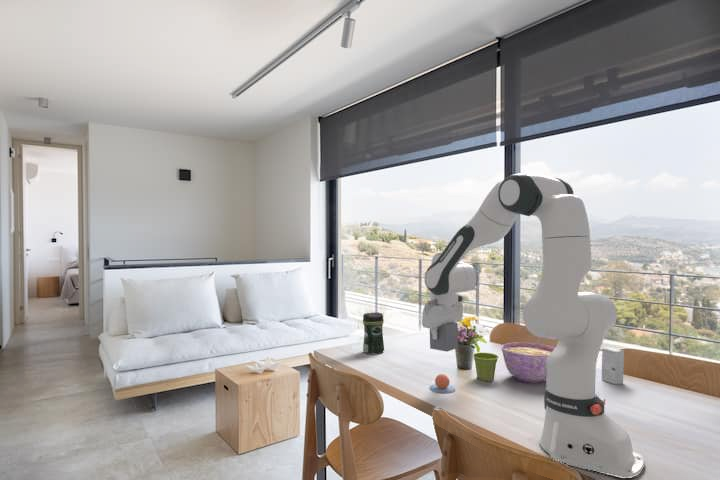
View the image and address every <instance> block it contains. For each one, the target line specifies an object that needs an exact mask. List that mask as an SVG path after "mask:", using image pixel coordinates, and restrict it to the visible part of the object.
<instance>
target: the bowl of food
mask: <svg viewBox="0 0 720 480" xmlns="http://www.w3.org/2000/svg"><path fill="white" fill-rule="evenodd" d="M555 348H556V347H552V346H550V345H545V344H540V343H534V342H519V341H518V342H509V343H505V344H502V345H501V352H502V356H503V360H504V363H505V367H506V369H507V370H508V372H509V374H510V375H512V376H513V377H515V378H517V379H518V380H519V381H522V382H524V383H531V384H534V383H540V382H542V381H544V380H546V361H547V358H548V356H549V354H550V353H551V352H552V351H553V350H554V349H555Z"/></svg>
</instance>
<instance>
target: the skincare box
mask: <svg viewBox="0 0 720 480" xmlns="http://www.w3.org/2000/svg"><path fill="white" fill-rule="evenodd" d="M601 349H602V350H601V351H602V352H601V353H602V355H601V380H602V381H604V382H606V383H609V384H613V385H621V384H624V369H625V366H624V364H625V350H622V349H619V348H615V347H611V346H607V347H603V348H601Z"/></svg>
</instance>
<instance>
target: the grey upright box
mask: <svg viewBox="0 0 720 480" xmlns="http://www.w3.org/2000/svg"><path fill="white" fill-rule="evenodd" d="M458 328H459V327H458V322H455V323H454V322H452V323H448V324H444V325H441V326H439V327H437V330H436V331H437V334H439V339H437V340H434V339H433V338H432V333H431V330H430V329H429V349H431V350H435V351H440V352H450V351H453V350H456V349H458V348H459V329H458Z"/></svg>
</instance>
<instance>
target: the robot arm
mask: <svg viewBox="0 0 720 480" xmlns="http://www.w3.org/2000/svg"><path fill="white" fill-rule="evenodd" d="M520 215H522V216H526V217H530V216H533V217H534V216H535V217H537V218H538V220H539V221H540V224H541V225H540V226H541V243H542V245H541V246H542V269H541V271H542V272H541V275H540V276H541V277H540V280H539V283H538V286H537V288H536V290H535V292H534V294H532V296H531V297H530V299H528V300H527V301H526V303H525V304H524V306H523V309H522V321H523V323H524V326H525V328H526V330H527V331H528V332H529V333H530V334H531V335H533V336H535V337H536V338H537V337H538V338H543V339H549V340H558V342H557V344H556V346H555V347H554V348H555V349H554V350H553V351H552V352H551V353H550V354H549V356H548V358H547V361H546V379H545V380H546V383H545V385H546V387H545V388H544V394H543V395H544V396H543V403H544V404H543V405H544V410H545V415H544V422H543V423H544V424H543V427H542V428H543V429H542V431H541V432H542V434H541V435H540V439H539V445H540V447H541V448H542V450H544V451H545V452H546V453H548V455H549V457H550V459H552V458H553V459H556V460H559V461H561V462H563V463H566V464H565V465H566V466H567V465H568V466H572V467H576V468H578V469H583V470H586V469H588V470H587V471H590V470H595V471H599V472H604V473H609V474H613V475H618V476H622V477H629V476H633V475H636V474H638V473H639V472H641V470H642V469H643V467H644V468H645V459H644V458H643V456H642V455H641V454H640V453H638V452H635V451H634V450H633V443H632V440H631V437H630V435H629V433H628V432H627V431H626V430H625V428H623V427H621V425H619V424H618V423H617V422H616V421H614V419H612V418H611V417H610V416H609V415H608V414H607V413H606V412H605V405H606V398H603V399H601V398H600V397H599V396H598V395H597V394H596V376H597V375H596V370H597V369H596V368H597V361H598V357H599V353H600V350H601V349H602V348H601V347H602V345H603V342H604V340H605V337H606V335H607V334H608V332H609V331H610V330H611V329H612V328H613V327H614V326H615V324H616V322H617V319H618V311H617V307H616V305H615V304H614V302H613V301H612V299H611V298H609V297H608V296H607V295H604V294H600V293H597V292H596V293H595V292H591V291H579V290H580V287H581V284H582V281H583V279H584V277H586V275H588V273H589V272H590V271H591V269H592V266H593V265H592V263H593V262H592V246H591V233H590V225H589V218H588V214H587V210H586V205H585V203H584V201H583V200H582V198H580V197H579V196H577V195H575V193H574V189H573V187H572V186H571V184H570V183H568V182H567V181H566V180H564V179H562V178H558V177H551V176H546V175H544V174H543V175H542V174H540V173H539V174H537V173H521V172H520V173H514V174H511V175H508V176H507V177H505V178H504V179H503V180H500V181H499V182H497V183H496V184H495V185H494V186H493V187H492V189H491V190H490V191H489V193H488V194H487V195H486V197H485V198H484V200H482V203H481V204H480V207H479V208H478V209H477V211H476V212H475V214H474V215H473V216H472V218H471V219H469V221H468V222H467V223H466V224H465V225H463V226H462V227H461V228H460V229H459V230H457V232H456V233H455V234H454V236H453V237H452V239H450V241H449V243H447V246H446V247H445V248H444V249H443V251H442V252H439V253H438V252H437V253H436V254H434V255H433V256H432V259H431V264H430V265H429V267H428V268H427V269H426V272H425V274H424V284H425V286H426V288H427V289H428V291H429V292H430V300H428V301H426V303H425V304H424V306H423V310H422V314H421V315H422V316H421V317H422V318H421V325H422V328H426V329H429V331H430V330H431V333H432V338H433V339H434V340H437V339H439V334H437V331H436V330H437V327H439V326H441V325H444V324H448V323H452V322H454V323H458V322H461V321H462V320H463V317H464V304H463V302H464V301H465V300H464V299H465V298H464V296H463V295H462V294H459V293H465V292H470V291H473V290H474V289H475V288H476V286H477V284H478V281H479V280H478V279H479V276H478V272H477V270H476V268H475V267H474V266H473V265H472V264H470V263H466V262H464V261H462V260H463V258H464V257H465V256H466V255H467V254H468V253H470V252H471V251H473V250H474V249H478V248H480V247H483V246H486V245H487V246H488V245H491V244H494V243H497V242H499V241H501V240H502V239H503V238H504V237H505V236H507V234H509V232H510V230H511V229H512V228H513V226H514V224H515V222H516V220H517V219H518V217H519V216H520ZM563 463H562V464H563ZM643 470H644V469H643ZM629 472H630V473H629ZM641 473H642V472H641Z"/></svg>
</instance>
